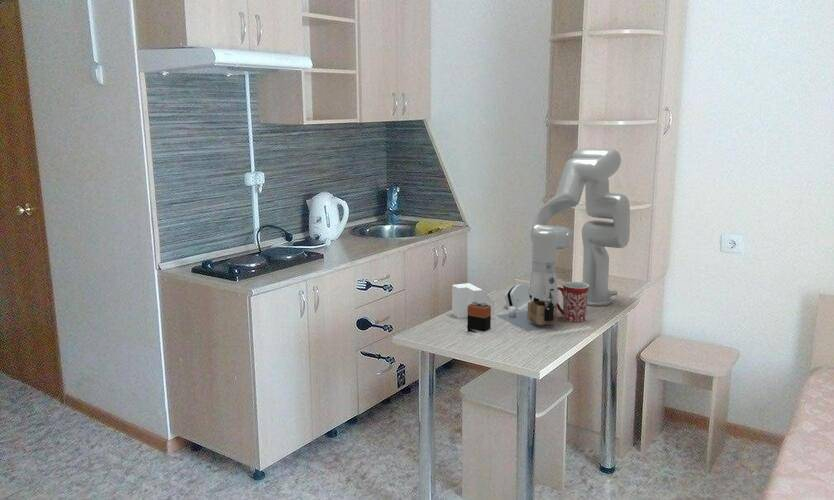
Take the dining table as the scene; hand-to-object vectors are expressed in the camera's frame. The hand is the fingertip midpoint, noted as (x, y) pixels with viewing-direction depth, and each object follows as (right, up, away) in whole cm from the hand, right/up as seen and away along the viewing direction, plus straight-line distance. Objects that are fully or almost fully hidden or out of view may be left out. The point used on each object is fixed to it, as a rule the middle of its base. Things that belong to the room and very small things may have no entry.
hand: (542, 317), depth 229 cm
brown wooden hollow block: (0, -1, 0) cm, 1 cm away
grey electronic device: (-4, +1, +25) cm, 25 cm away
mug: (+11, -2, +7) cm, 13 cm away
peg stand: (-4, -3, +5) cm, 7 cm away
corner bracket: (-23, -2, +11) cm, 25 cm away
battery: (-22, -5, -3) cm, 22 cm away
